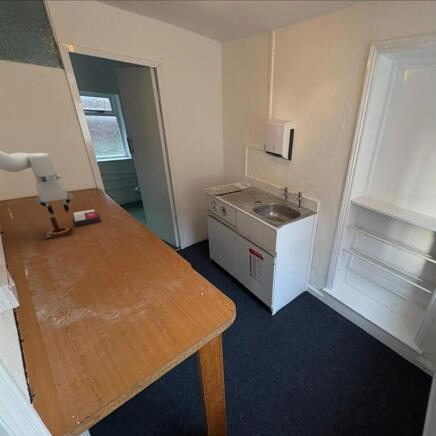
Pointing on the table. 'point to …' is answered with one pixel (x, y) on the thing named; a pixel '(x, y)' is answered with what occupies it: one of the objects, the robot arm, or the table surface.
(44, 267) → the table surface
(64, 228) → the orange ring
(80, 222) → the calculator
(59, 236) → the post
